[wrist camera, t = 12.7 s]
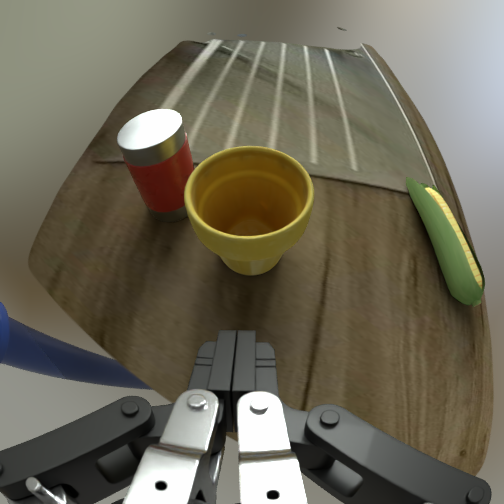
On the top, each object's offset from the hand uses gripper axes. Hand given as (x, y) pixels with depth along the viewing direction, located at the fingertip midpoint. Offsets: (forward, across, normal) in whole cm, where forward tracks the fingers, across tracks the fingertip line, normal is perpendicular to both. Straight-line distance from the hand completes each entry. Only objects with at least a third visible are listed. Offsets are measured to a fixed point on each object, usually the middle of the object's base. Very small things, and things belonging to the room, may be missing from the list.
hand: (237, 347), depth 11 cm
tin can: (+24, +9, -4) cm, 26 cm away
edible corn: (+20, -24, 0) cm, 32 cm away
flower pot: (+19, 0, +1) cm, 19 cm away
